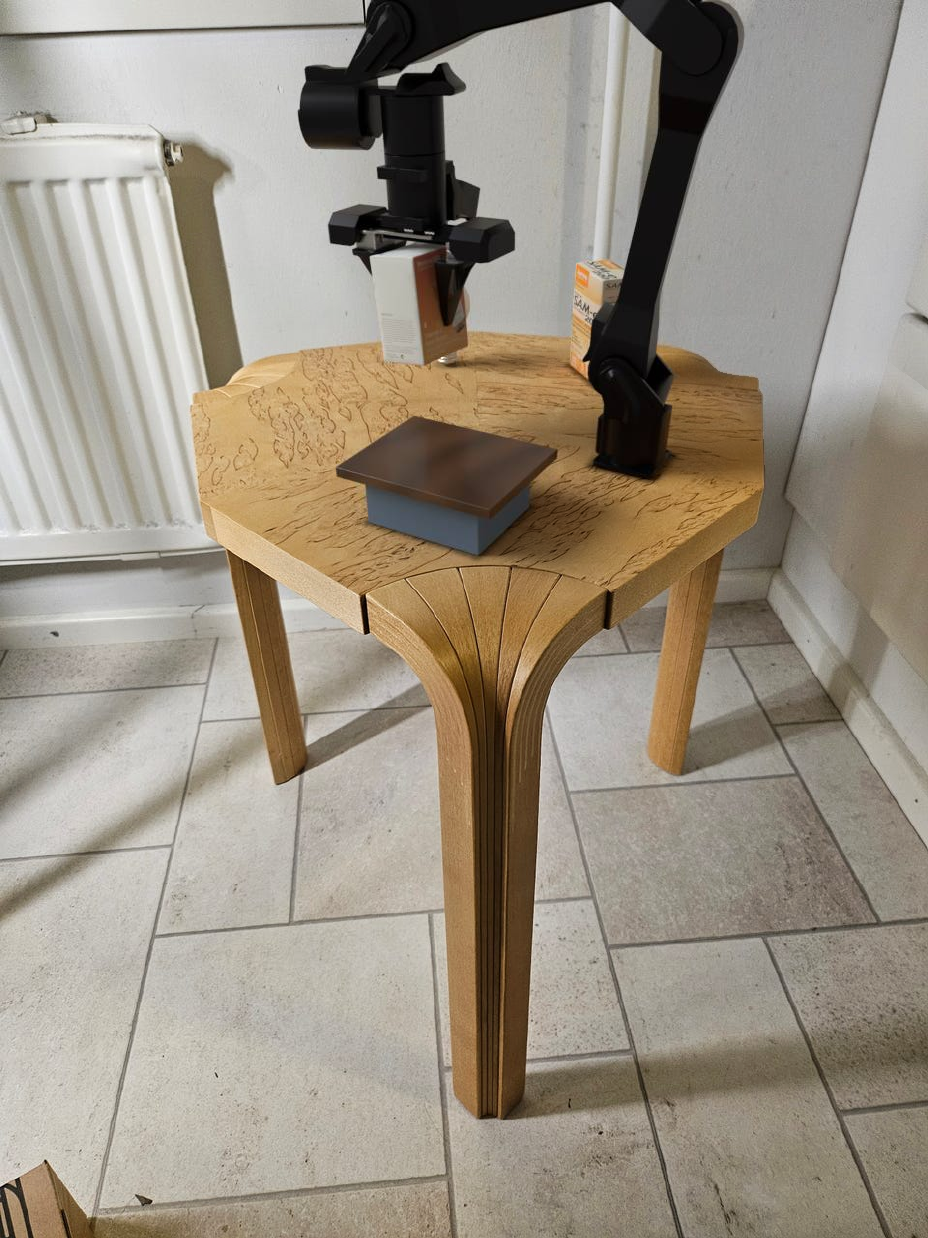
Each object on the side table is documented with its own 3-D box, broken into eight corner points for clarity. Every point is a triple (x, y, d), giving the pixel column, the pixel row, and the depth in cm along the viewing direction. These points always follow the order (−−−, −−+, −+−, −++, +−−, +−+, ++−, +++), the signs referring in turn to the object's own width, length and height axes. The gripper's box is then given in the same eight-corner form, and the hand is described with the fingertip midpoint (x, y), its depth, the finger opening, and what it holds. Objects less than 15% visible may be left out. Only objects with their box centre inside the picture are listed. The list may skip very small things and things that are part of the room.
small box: (424, 368, 86) (411, 257, 81) (382, 362, 89) (367, 255, 84) (470, 346, 92) (461, 240, 86) (429, 341, 95) (418, 239, 89)
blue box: (529, 507, 83) (531, 460, 80) (478, 556, 76) (478, 506, 73) (425, 479, 88) (423, 434, 85) (368, 522, 81) (363, 475, 78)
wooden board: (557, 458, 80) (557, 448, 79) (490, 520, 71) (490, 509, 71) (414, 424, 87) (413, 415, 86) (336, 476, 78) (335, 466, 77)
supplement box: (567, 365, 113) (573, 261, 105) (600, 361, 114) (609, 257, 106) (593, 388, 106) (602, 279, 99) (628, 383, 108) (640, 275, 100)
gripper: (544, 144, 81) (539, 311, 90) (383, 134, 89) (395, 289, 98) (484, 163, 73) (486, 343, 83) (315, 150, 81) (334, 316, 91)
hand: (423, 320), depth 89 cm, fingers closed on small box, 6 cm apart
